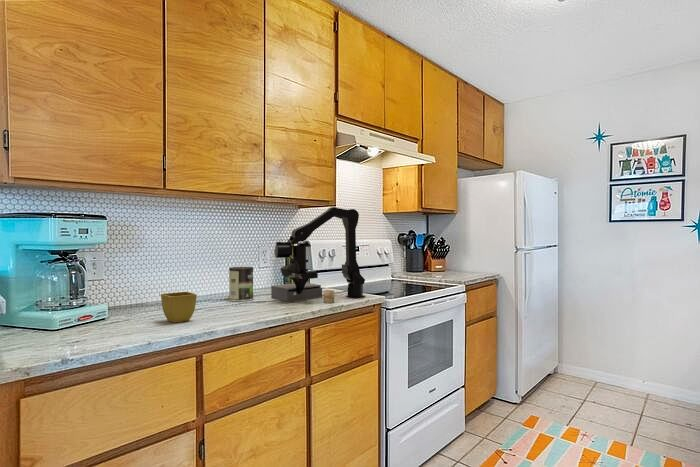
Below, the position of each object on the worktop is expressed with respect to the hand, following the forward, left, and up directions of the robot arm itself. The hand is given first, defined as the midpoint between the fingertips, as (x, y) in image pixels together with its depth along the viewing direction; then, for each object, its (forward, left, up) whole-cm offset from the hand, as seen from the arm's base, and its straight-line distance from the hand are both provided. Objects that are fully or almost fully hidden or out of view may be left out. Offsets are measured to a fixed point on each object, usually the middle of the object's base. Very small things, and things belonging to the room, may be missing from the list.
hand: (299, 293), depth 171 cm
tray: (-4, -8, -3) cm, 9 cm away
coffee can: (+17, -20, -3) cm, 26 cm away
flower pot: (+52, +5, -3) cm, 52 cm away
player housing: (-4, -8, -3) cm, 9 cm away
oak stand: (-7, +11, -3) cm, 14 cm away
